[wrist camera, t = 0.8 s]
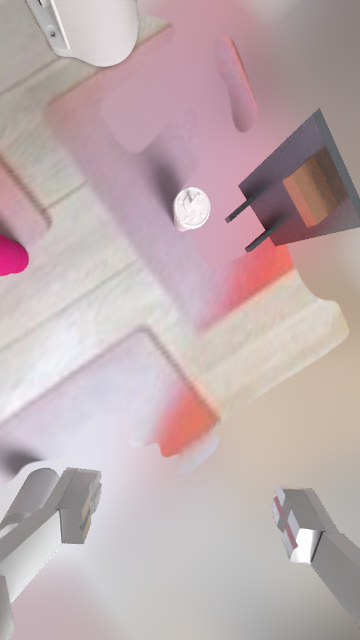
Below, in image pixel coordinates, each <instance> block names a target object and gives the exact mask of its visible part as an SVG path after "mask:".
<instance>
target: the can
mask: <svg viewBox="0 0 360 640" xmlns="http://www.w3.org/2000/svg"><path fill="white" fill-rule="evenodd" d="M58 480H59V476H58V474H57V473H56V472H55V471H54V470H52V469H50V468H42V469H38V470H35V471H33V472H32V473H31V474H29V476H28V477H27V479H26V480H25V482H24V484H23V486H22V487H21V489H20V491H19V493H18V494H17V496H16V498H15V500H14V501H13V503H12V505H11V506H10V508H9V510H8V511H7V513H6V515H5V517H4V518H3V520H2V522H1V523H0V539H1V538H2V537H3V536H5V535H6V534H7V533H8V532H10V531H11V530H12V529H13V528H14V527H16V526H17V525H18V524H19V523H21V522H22V521H23V520H24V519H26V518H27V517H28V516H29V515H31V514H32V513H33V512H34V511H36V510H37V509H38V508H42V507H43V506H44V504H45V502H46V501H47V499H48V497H49V496H50V494H51V492H52V491H53V489H54V487H55V486H56V484H57V482H58Z"/></svg>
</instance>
